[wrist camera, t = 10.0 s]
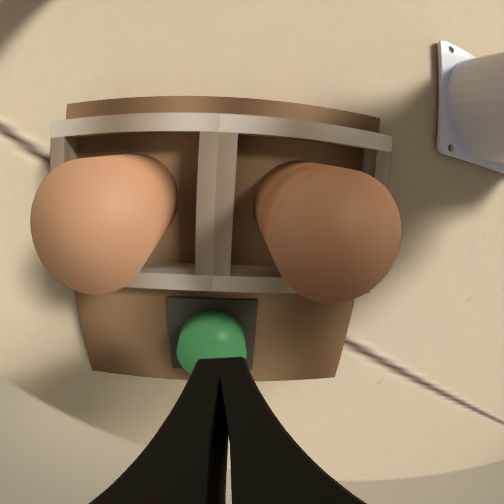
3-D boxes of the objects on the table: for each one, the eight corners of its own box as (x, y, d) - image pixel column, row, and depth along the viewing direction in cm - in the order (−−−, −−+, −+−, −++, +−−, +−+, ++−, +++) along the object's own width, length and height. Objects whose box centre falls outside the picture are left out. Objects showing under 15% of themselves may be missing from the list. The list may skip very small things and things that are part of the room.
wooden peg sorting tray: (367, 120, 15) (454, 110, 8) (328, 363, 20) (365, 444, 13) (79, 107, 14) (-4, 90, 7) (98, 356, 19) (61, 436, 12)
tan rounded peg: (178, 151, 14) (148, 152, 8) (180, 241, 15) (156, 296, 9) (93, 157, 13) (25, 166, 8) (98, 242, 15) (42, 292, 9)
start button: (246, 310, 16) (248, 326, 15) (242, 363, 18) (244, 380, 16) (178, 308, 16) (174, 324, 14) (181, 361, 17) (178, 378, 16)
